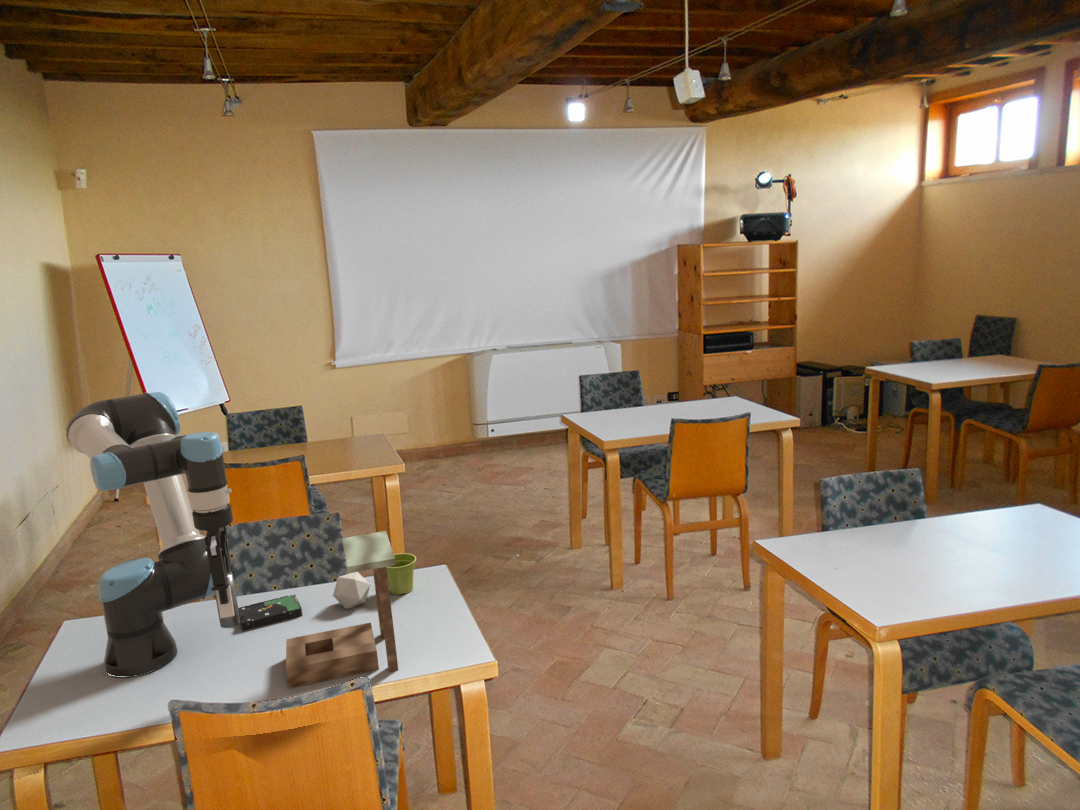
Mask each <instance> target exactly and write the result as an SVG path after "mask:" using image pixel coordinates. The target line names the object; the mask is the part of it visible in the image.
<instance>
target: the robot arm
mask: <svg viewBox="0 0 1080 810" xmlns="http://www.w3.org/2000/svg"><path fill="white" fill-rule="evenodd" d="M178 413H179V412H178V411H177V409H176V406H175V404H174V402H173V401H172V398H170V396H168V395H167V394H166V393H163V392H159V391H158V392H142V393H141V394H133V395H128V396H127V395H126V396H120V397H116V398H109V399H102V400H96V401H94V402H91V403H89V404H87V405H85V406H84V407H81V408H80V409H79V410H78V411H77V412H75V413H74V414H73V416H72V417H71V418H70V420H69V421H68V423H67V425H66V429H65V430H66V431H65V432H66V438H67V441H68V442H69V444H70V446H71V447H72V448H73V449H74V450H75V451H77V452H79V453H81V454H84V455H86V457H88V458H89V460H90V461H89V464H90V465H89V466H90V467H89V468H90V472H91V477H92V480H93V483H94V485H95V487H96V489H97V490H98V491H99V492H105V491H110V490H120V489H122V488H123V489H124V488H128V487H131V486H134V485H135V486H136V485H139V484H143V485H144V489H145V493H146V495H147V496H146V497H147V500H148V502H149V506H150V509H151V512H152V516H153V519H154V522H155V526H156V529H157V532H158V536H159V539H160V543H161V548H160V550H159V551H158V553H157V558H158V561H153V559H151V558H150V557H139V558H133V559H128V560H126V561H123V562H121V563H118V564H116V565H115V566H111V568H109V569H108V570H106V571H105V572H104V573H103V574H102V575H101V576H100V577H99V580H98V585H97V586H98V594H99V597H98V598H99V601H100V603H101V607H102V612H103V617H104V623H105V629H106V634H107V642H106V648H105V654H104V659H103V666H104V671H105V670H106V671H105V673H106V672H107V673H109V674H111V675H115V676H134V675H139V676H141V675H140V674H143V675H145V674H144V673H146V674H148V673H147V672H149V673H151V672H150V671H152V672H154V671H156V670H155V669H157V670H159V669H161V668H163V667H164V666H166V665H168V664H169V663H170V662H172V661H173V660H174V659H175V658H176V656H177V654H178V646H177V643H176V640H175V638H174V637H173V635H172V634H171V632H170V630H169V629H168V627H167V625H166V623H165V622H164V616H163V612H166V611H169V610H172V609H173V610H174V609H175V608H179V607H181V606H184V605H188V604H190V603H194V602H197V601H200V600H206V599H207V598H209V597H212V596H215V591H216V595H217V601H218V607H219V613H220V618H225V617H231V616H234V609H233V603H232V596H231V590H230V586H229V584H228V579H227V572H232V573H233V577H235V576H236V573H235V571H232V569H233V567H232V563H231V556H230V555H231V554H230V551H229V549H230V548H229V542H228V531H227V527H228V526H229V525H231V524H232V523H233V521H234V516H233V511H232V510H233V509H232V505H230V501H231V500H230V494H231V493H232V491H233V490H232V489H231V488H228V487H229V486H228V477H227V471H226V465H225V459H224V453H223V452H224V448H223V445H222V442H221V437H220V436H219V434H218V433H217V432H214V431H199V432H193V433H189V434H179V433H180V431H181V422H180V419H179V418H180V417H179V414H178ZM178 434H179V435H178ZM184 474H185V479H186V483H187V487H186V485H185V483H184V479H183V475H184ZM186 488H188V489H186ZM187 491H188V492H187ZM200 531H205V532H206V534H205V535H203V534H201V533H200ZM167 663H168V664H167ZM162 666H163V667H162ZM160 667H161V668H160ZM158 668H159V669H158ZM153 670H154V671H153ZM107 673H106V674H107ZM134 677H135V676H134Z"/></svg>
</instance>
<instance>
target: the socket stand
mask: <svg viewBox="0 0 1080 810" xmlns="http://www.w3.org/2000/svg"><path fill="white" fill-rule="evenodd" d="M341 540H342V545H343V546H342V547H343V553H344V557H345V564H346V565H345V566H346V571H347V574H349V573H354V572H358V573H359V572H365V571H369V570H372V573H373V581H374V589H375V590H374V591H375V598H376V607H377V608H376V609H377V614H378V615H377V616H378V622H379V632H380V633H379V634H380V638H381V639H384V643H385V652H386V659H387V667H388V671H390V672H393V671H398V670H399V663H398V656H397V655H398V654H397V653H398V652H397V646H396V637H395V636H396V635H395V630H394V629H395V628H394V620H393V619H394V618H393V613H392V612H393V611H392V604H391V602H392V601H391V592H390V589H389V584H388V576H387V567H388V566H393V565H396V561H395V556H394V554H395V553H394V551H393V548H392V544H391V542H390V541H391V540H390V539H389V536H388V533H387V530H383V531H378V532H371V533H366V534H359V535H353V536H347V537H342V538H341ZM285 645H286V647H285V648H286V649H285V651H286V653H285V673H286V678H287V679H286V680H287V686H288V689H293V688H296V687H297V688H298V687H303V686H306V685H307V686H308V685H310V684H316V683H320V682H321V683H322V682H326V681H331V680H336V679H340V678H344V677H348V676H353V675H357V674H363V673H367V672H372V671H376V670H379V669H380V666H379V661H378V660H379V657H378V650H377V646H376V645H377V644H376V640H375V636H374V631H373V627H372V622H367V623H361V624H356V625H352V626H346V627H342V628H337V629H332V630H326V631H321V632H315V633H310V634H306V635H302V636H295V637H290V638H286V644H285Z"/></svg>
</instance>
